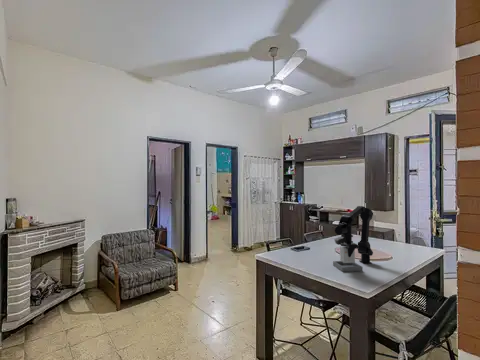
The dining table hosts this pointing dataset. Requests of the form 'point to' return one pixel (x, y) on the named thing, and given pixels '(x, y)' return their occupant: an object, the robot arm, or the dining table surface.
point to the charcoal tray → (347, 266)
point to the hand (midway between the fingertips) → (347, 255)
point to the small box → (346, 255)
